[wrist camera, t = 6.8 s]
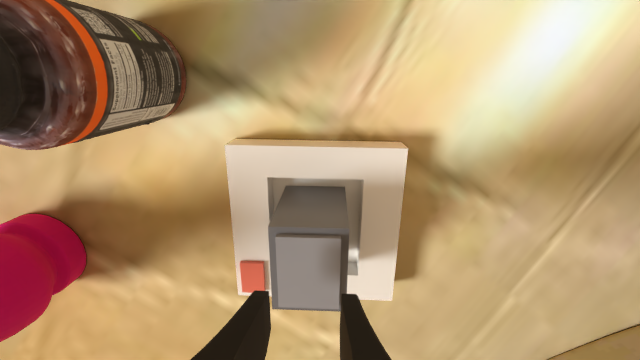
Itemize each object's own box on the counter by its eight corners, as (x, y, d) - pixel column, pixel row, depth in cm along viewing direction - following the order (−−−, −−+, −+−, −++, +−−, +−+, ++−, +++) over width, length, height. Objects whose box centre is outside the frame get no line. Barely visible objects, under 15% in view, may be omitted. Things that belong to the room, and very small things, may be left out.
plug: (344, 186, 20) (349, 231, 14) (342, 251, 22) (346, 315, 16) (285, 185, 21) (266, 229, 15) (288, 249, 22) (271, 312, 16)
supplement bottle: (93, 105, 20) (-188, 136, 9) (100, 7, 18) (-244, -98, 7) (182, 133, 20) (13, 195, 9) (198, 40, 18) (9, -13, 8)
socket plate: (401, 141, 20) (409, 149, 18) (387, 282, 23) (392, 303, 21) (234, 138, 20) (222, 146, 18) (246, 277, 24) (237, 297, 21)
